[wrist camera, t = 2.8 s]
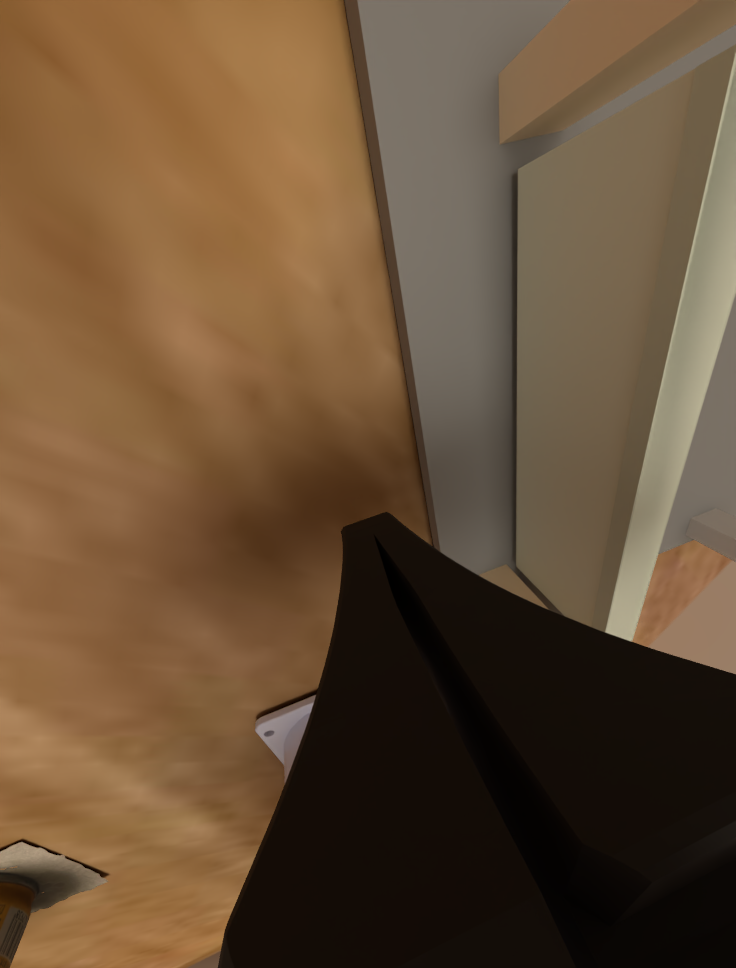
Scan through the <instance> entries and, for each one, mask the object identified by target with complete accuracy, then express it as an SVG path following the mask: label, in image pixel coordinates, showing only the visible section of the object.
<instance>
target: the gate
mask: <svg viewBox="0 0 736 968" xmlns="http://www.w3.org/2000/svg"><path fill="white" fill-rule="evenodd" d="M735 294H736V44H735V45H734V46H732V47H730V48H728V49H727V50H725V51H723V52H721V53H720V54H718V55H716V56H714V57H713V58H711V59H709V60H707V61H706V62H704V63H702V64H700V65H699V66H697V67H696V68H695V69H693V70H692V71H690V72H688V73H686V74H685V75H683V76H681V77H679V78H678V79H676V80H674V81H672V82H671V83H669V84H667V85H665V86H663V87H662V88H660V89H658V90H656V91H655V92H653V93H651V94H649V95H648V96H646V97H644V98H642V99H641V100H639V101H637V102H635V103H634V104H632V105H630V106H628V107H627V108H625V109H623V110H621V111H619V112H618V113H616V114H614V115H612V116H611V117H609V118H607V119H605V120H604V121H602V122H600V123H598V124H597V125H595V126H593V127H591V128H590V129H588V130H586V131H584V132H582V133H581V134H579V135H577V136H575V137H574V138H572V139H570V140H568V141H567V142H565V143H563V144H561V145H560V146H558V147H556V148H554V149H553V150H551V151H549V152H547V153H546V154H544V155H542V156H540V157H538V158H537V159H535V160H533V161H531V162H530V163H528V164H526V165H524V166H523V167H521V168H519V169H518V253H517V475H516V567H517V568H518V569H519V570H520V573H519V575H518V577H519V578H520V579H521V580H522V581H523V582H524V584H525V585H526V586H527V587H528V588H529V589H530V590H531V591H532V592H533V593H534V594H535V595H536V596H537V597H538V598H539V599H540V601H541V602H542V603H543V604H544V605H545V606H546V607H547V608H548V609H549V610H551V611H553V612H556V613H558V614H561V615H563V616H565V617H568V618H570V619H573V620H575V621H578V622H580V623H583V624H585V625H588V626H590V627H593V628H595V629H598V630H600V631H603V632H605V633H608V634H611V635H614V636H617V637H620V638H622V639H625V640H628V641H632V640H633V637H634V633H635V630H636V627H637V623H638V620H639V616H640V613H641V610H642V606H643V603H644V600H645V596H646V593H647V590H648V586H649V583H650V579H651V576H652V573H653V569H654V566H655V563H656V559H657V556H658V553H659V549H660V546H661V543H662V539H663V536H664V532H665V529H666V526H667V522H668V519H669V516H670V512H671V509H672V506H673V502H674V499H675V495H676V492H677V489H678V485H679V482H680V479H681V475H682V472H683V469H684V465H685V462H686V458H687V455H688V452H689V448H690V445H691V442H692V438H693V435H694V432H695V428H696V425H697V421H698V418H699V415H700V411H701V408H702V405H703V401H704V398H705V395H706V391H707V388H708V385H709V381H710V378H711V374H712V371H713V368H714V364H715V361H716V358H717V354H718V351H719V348H720V344H721V341H722V337H723V334H724V331H725V327H726V324H727V321H728V317H729V314H730V311H731V307H732V304H733V300H734V297H735Z"/></svg>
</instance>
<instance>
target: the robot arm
mask: <svg viewBox="0 0 736 968" xmlns="http://www.w3.org/2000/svg"><path fill="white" fill-rule="evenodd" d="M341 534H342V542H343V564H342V575H341V586H340V594H339V600H338V606H337V612H336V618H335V623H334V628H333V633H332V638H331V642H330V646H329V650H328V654H327V658H326V662H325V666H324V670H323V673H322V677H321V680H320V683H319V687H318V690H317V694H316V695H314V696H311V697H309V698H307V699H304V700H302V701H299V702H297V703H294V704H292V705H289V706H287V707H285V708H282V709H280V710H277V711H275V712H272V713H270V714H267V715H265V716H262V717H261V718H259V719H258V720H257V721H256V723H255V731H256V733H257V734H258V735H259V736H260V737H261V739H262V740H263V741H264V742H265V743H266V745H267V746H268V747H269V748H270V749H271V751H272V752H273V753H274V754H275V755H276V756H277V758H278V759H279V760H280V761H281V762H282V764H283V765H284V774H285V786H284V788H283V791H282V794H281V796H280V799H279V801H278V804H277V806H276V809H275V811H274V814H273V816H272V819H271V821H270V824H269V826H268V828H267V831H266V833H265V835H264V838H263V840H262V842H261V845H260V847H259V850H258V852H257V854H256V857H255V859H254V861H253V864H252V866H251V868H250V871H249V873H248V876H247V878H246V880H245V883H244V885H243V887H242V890H241V892H240V894H239V897H238V899H237V902H236V904H235V906H234V909H233V911H232V913H231V916H230V918H229V921H228V923H227V926H226V929H225V933H224V938H223V943H222V948H221V954H220V959H219V965H218V968H736V674H733V673H729V672H726V671H723V670H719V669H716V668H713V667H710V666H706V665H703V664H700V663H696V662H693V661H690V660H687V659H683V658H680V657H677V656H673V655H669V654H667V653H664V652H660V651H657V650H654V649H651V648H648V647H645V646H642V645H639V644H637V643H634V642H631V641H628V640H625V639H622V638H620V637H617V636H614V635H611V634H608V633H605V632H603V631H600V630H598V629H595V628H593V627H590V626H588V625H585V624H583V623H580V622H578V621H575V620H573V619H570V618H568V617H565V616H563V615H561V614H558V613H556V612H553V611H551V610H548V609H546V608H543V607H541V606H539V605H537V604H535V603H533V602H530V601H528V600H526V599H524V598H522V597H520V596H518V595H515V594H513V593H511V592H509V591H507V590H505V589H503V588H501V587H499V586H497V585H496V584H494V583H492V582H490V581H488V580H486V579H484V578H483V577H481V576H479V575H477V574H475V573H474V572H472V571H470V570H469V569H467V568H465V567H464V566H462V565H460V564H459V563H457V562H455V561H454V560H452V559H451V558H449V557H447V556H446V555H444V554H443V553H441V552H440V551H438V550H437V549H436V548H434V547H433V546H431V545H430V544H428V543H427V542H425V541H424V540H423V539H421V538H420V537H418V536H417V535H416V534H415V533H413V532H412V531H411V530H409V529H408V528H407V527H406V526H404V525H403V524H402V523H401V522H399V521H398V520H397V519H396V518H395V517H394V516H393V515H391V514H390V513H388V512H385V513H382V514H379V515H376V516H373V517H370V518H367V519H365V520H362V521H359V522H356V523H353V524H350V525H347V526H345V527H343V529H342V531H341Z"/></svg>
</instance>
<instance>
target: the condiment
mask: <svg viewBox="0 0 736 968" xmlns="http://www.w3.org/2000/svg"><path fill="white" fill-rule="evenodd" d="M15 866H17V868H11V867H15ZM1 868H6V869H5V870H0V968H10V965H11V963H12V960H13V958H14V955H15V953H16V950H17V948H18V945H19V943H20V940H21V938H22V935H23V933H24V930H25V928H26V925H27V922H28V920H29V916H30V913H32V912H36V911H38V910H39V909H46V908H49V907H51V906H52V905H54V904H55V903H57V902H59V901H62V900H65V899H67V898H68V897H70V896H72V895H75V894H77V893H80V892H84V891H88V890H92V889H94V888H95V887H97V886H99V885H101V884H104V883H106V882H108V881H107V880H106V879H104V878H102V877H100V875H99V873H95V872H94V871H92V870H90V869H87V868H85V867H83V865H81V864H78V863H76V862H73V861H71V860H68V859H66V858H65V855H60V856H59V855H54V854H51V853H48V852H47V851H46V850H44V849H42V848H35V847H33V846H30V845H28V844H25V843H23V842H20V843H18V844H15V845H13V846H10V847H9V848H7V849H5V850H3V851H0V869H1ZM42 892H44V893H42Z"/></svg>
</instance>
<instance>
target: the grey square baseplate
mask: <svg viewBox="0 0 736 968" xmlns="http://www.w3.org/2000/svg"><path fill="white" fill-rule="evenodd" d="M344 2H345V8H346V14H347V20H348V26H349V32H350V38H351V44H352V51H353V57H354V63H355V69H356V75H357V81H358V87H359V93H360V99H361V106H362V112H363V118H364V124H365V130H366V136H367V142H368V148H369V155H370V161H371V167H372V173H373V179H374V185H375V191H376V197H377V204H378V210H379V216H380V222H381V228H382V234H383V240H384V246H385V252H386V259H387V265H388V271H389V277H390V283H391V289H392V295H393V301H394V308H395V314H396V320H397V326H398V332H399V338H400V344H401V350H402V356H403V363H404V369H405V375H406V381H407V387H408V393H409V399H410V405H411V412H412V418H413V424H414V430H415V436H416V442H417V448H418V454H419V461H420V467H421V473H422V479H423V485H424V491H425V497H426V503H427V509H428V516H429V522H430V528H431V534H432V540H433V546H434V548H436V549H437V550H438V551H440V552H441V553H443V554H444V555H446V556H447V557H449V558H451V559H452V560H454V561H455V562H457V563H459V564H460V565H462V566H464V567H465V568H467V569H469V570H470V571H472V572H474V573H475V574H477V575H479V576H481V577H483V578H484V579H486V580H488V581H490V582H492V583H494V584H496V585H497V586H499V587H501V588H503V589H505V590H507V591H509V592H511V593H513V594H515V595H518V596H520V597H522V598H524V599H526V600H528V601H530V602H533V603H535V604H537V605H539V606H541V607H543V608H546V609H548V608H547V607H546V606H545V605H544V604H543V603H542V602H541V601H540V599H539V598H538V597H537V596H536V595H535V594H534V593H533V592H532V591H531V590H530V589H529V588H528V587H527V586H526V585H525V584H524V582H523V581H522V580H521V579H520V578H519V577H518V575H519V573H520V570H519V569H518V568H517V567H516V475H517V253H518V169H519V168H521V167H523V166H524V165H526V164H528V163H530V162H531V161H533V160H535V159H537V158H538V157H540V156H542V155H544V154H546V153H547V152H549V151H551V150H553V149H554V148H556V147H558V146H560V145H561V144H563V143H565V142H567V141H568V140H570V139H572V138H574V137H575V136H577V135H579V134H581V133H582V132H584V131H586V130H588V129H590V128H591V127H593V126H595V125H597V124H598V123H600V122H602V121H604V120H605V119H607V118H609V117H611V116H612V115H614V114H616V113H618V112H619V111H621V110H623V109H625V108H627V107H628V106H630V105H632V104H634V103H635V102H637V101H639V100H641V99H642V98H644V97H646V96H648V95H649V94H651V93H653V92H655V91H656V90H658V89H660V88H662V87H663V86H665V85H667V84H669V83H671V82H672V81H674V80H676V79H678V78H679V77H681V76H683V75H685V74H686V73H688V72H690V71H692V70H693V69H695V68H696V67H697V66H699V65H700V64H702V63H704V62H706V61H707V60H709V59H711V58H713V57H714V56H716V55H718V54H720V53H721V52H723V51H725V50H727V49H728V48H730V47H732V46H734V45H735V44H736V0H344ZM692 540H696V541H698V542H699V543H701V544H703V545H705V546H707V547H709V548H711V549H712V550H714V551H716V552H718V553H720V554H722V555H724V556H726V557H727V558H729V559H731V560H733V561H735V562H736V294H735V297H734V300H733V304H732V307H731V311H730V314H729V317H728V321H727V324H726V327H725V331H724V334H723V337H722V341H721V344H720V348H719V351H718V354H717V358H716V361H715V364H714V368H713V371H712V374H711V378H710V381H709V385H708V388H707V391H706V395H705V398H704V401H703V405H702V408H701V411H700V415H699V418H698V421H697V425H696V428H695V432H694V435H693V438H692V442H691V445H690V448H689V452H688V455H687V458H686V462H685V465H684V469H683V472H682V475H681V479H680V482H679V485H678V489H677V492H676V495H675V499H674V502H673V506H672V509H671V512H670V516H669V519H668V522H667V526H666V529H665V532H664V536H663V539H662V543H661V546H660V549H659V553H658V554H660V553H663V552H665V551H667V550H670V549H672V548H675V547H677V546H680V545H682V544H685V543H687V542H690V541H692ZM548 610H549V609H548Z"/></svg>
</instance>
